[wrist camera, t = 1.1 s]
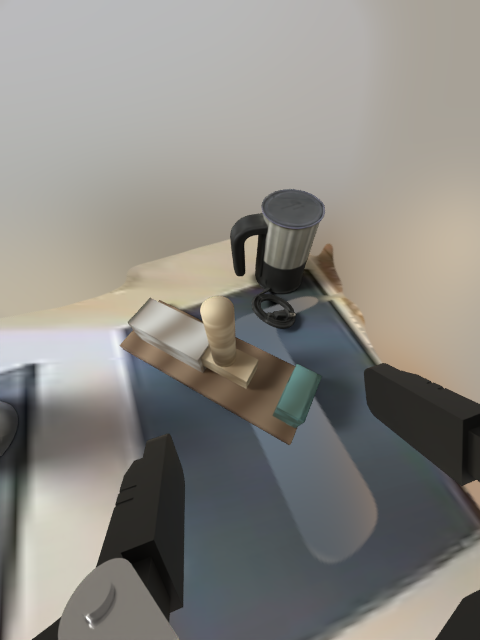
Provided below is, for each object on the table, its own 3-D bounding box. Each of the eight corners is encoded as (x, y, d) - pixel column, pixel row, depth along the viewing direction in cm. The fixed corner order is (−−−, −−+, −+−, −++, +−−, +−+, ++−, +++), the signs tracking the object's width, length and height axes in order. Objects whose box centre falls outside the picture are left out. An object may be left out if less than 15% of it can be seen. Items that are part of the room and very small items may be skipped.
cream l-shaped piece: (145, 334, 38) (98, 269, 26) (159, 318, 40) (121, 250, 27) (246, 388, 34) (249, 343, 21) (257, 368, 35) (265, 314, 23)
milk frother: (286, 252, 51) (301, 181, 38) (334, 308, 44) (373, 243, 31) (225, 277, 47) (219, 208, 35) (266, 341, 40) (277, 284, 27)
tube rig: (123, 349, 40) (102, 328, 34) (161, 304, 44) (149, 279, 38) (288, 445, 32) (299, 440, 26) (314, 380, 37) (328, 363, 31)
